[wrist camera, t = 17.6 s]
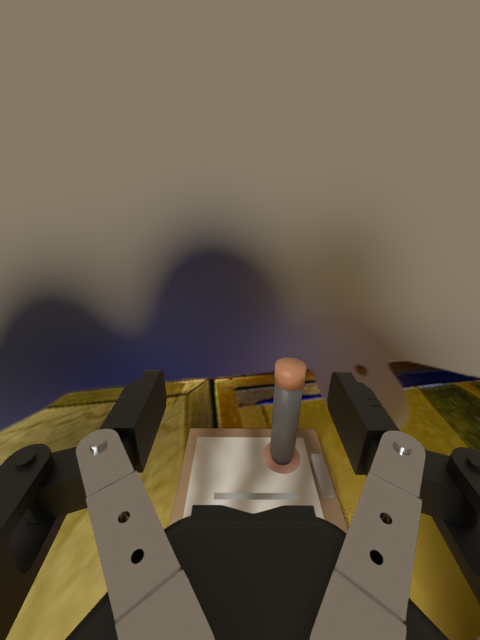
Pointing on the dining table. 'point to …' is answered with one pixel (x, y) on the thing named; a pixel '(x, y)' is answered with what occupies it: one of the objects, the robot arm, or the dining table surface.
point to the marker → (286, 408)
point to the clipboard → (254, 474)
